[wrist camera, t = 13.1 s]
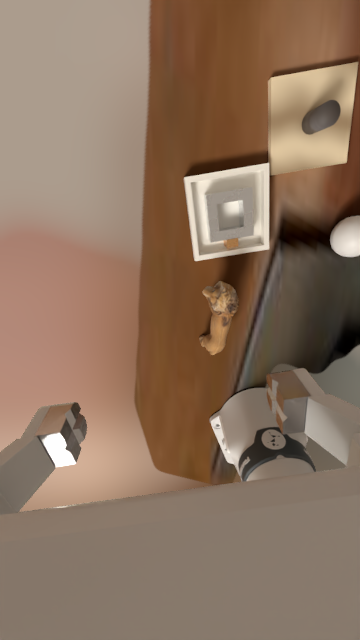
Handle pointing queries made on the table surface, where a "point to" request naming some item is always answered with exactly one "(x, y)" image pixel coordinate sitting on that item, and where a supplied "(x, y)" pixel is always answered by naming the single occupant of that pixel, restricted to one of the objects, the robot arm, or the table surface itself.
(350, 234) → the white egg
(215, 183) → the tray
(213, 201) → the ring
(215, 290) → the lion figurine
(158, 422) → the table surface
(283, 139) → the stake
